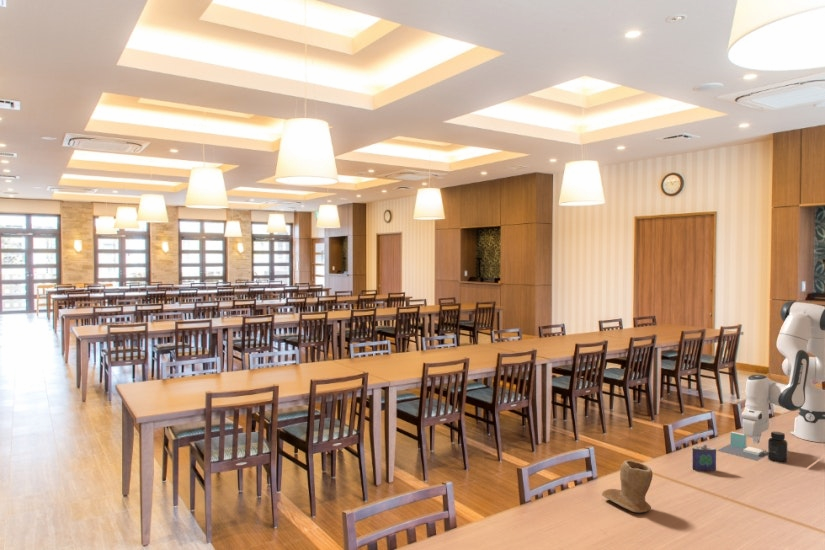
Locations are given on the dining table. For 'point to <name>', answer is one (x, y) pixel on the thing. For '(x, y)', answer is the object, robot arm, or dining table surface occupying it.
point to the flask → (704, 458)
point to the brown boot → (632, 487)
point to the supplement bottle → (777, 447)
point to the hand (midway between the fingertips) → (756, 443)
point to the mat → (740, 452)
